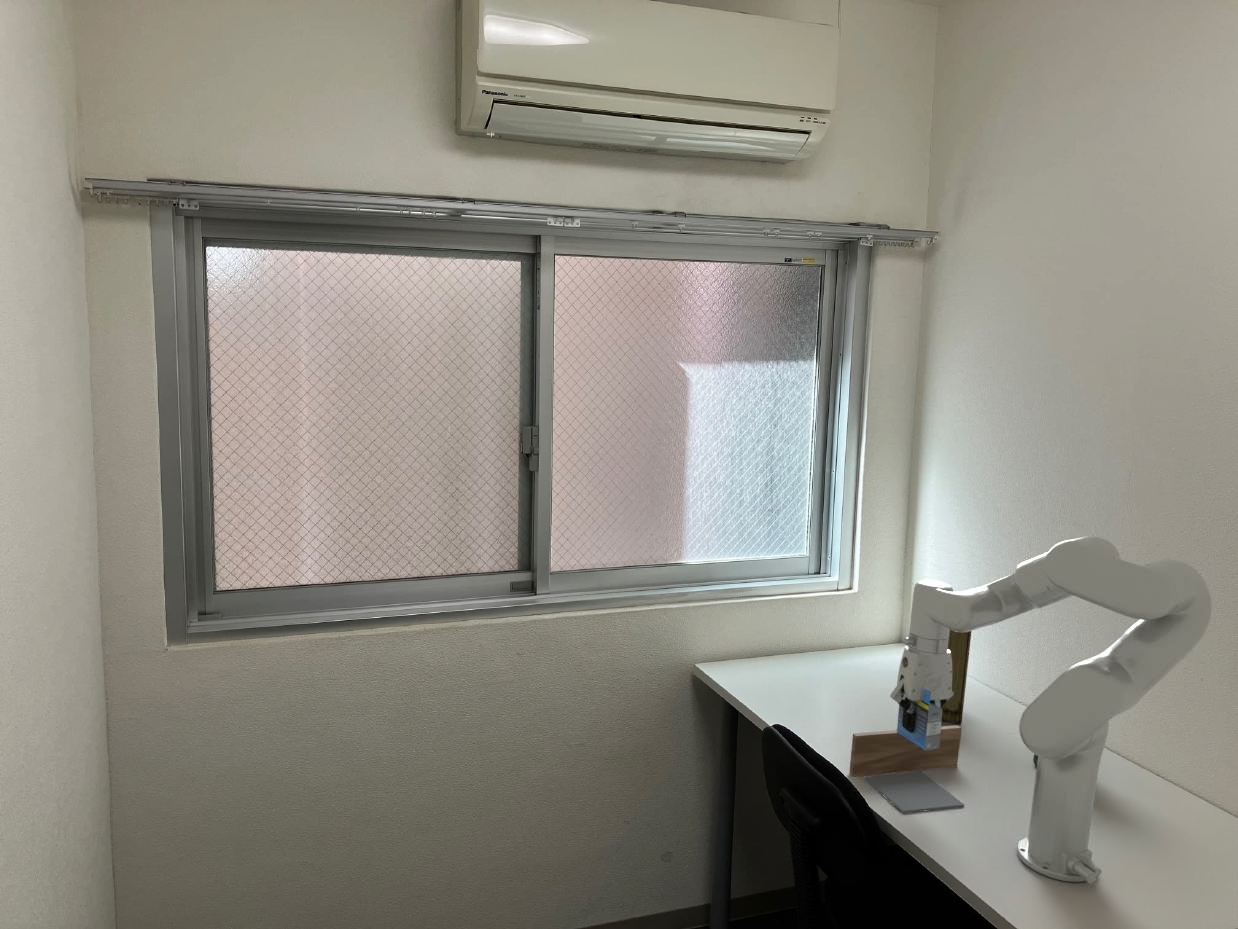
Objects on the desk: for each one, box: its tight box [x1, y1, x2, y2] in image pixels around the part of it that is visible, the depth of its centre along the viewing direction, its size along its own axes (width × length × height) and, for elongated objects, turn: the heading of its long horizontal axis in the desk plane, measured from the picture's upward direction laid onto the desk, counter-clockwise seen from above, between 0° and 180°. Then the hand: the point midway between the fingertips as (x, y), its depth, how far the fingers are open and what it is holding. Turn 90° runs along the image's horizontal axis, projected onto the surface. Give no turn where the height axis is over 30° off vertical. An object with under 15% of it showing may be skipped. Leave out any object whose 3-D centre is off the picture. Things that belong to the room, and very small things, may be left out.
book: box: [941, 630, 972, 726], centre depth 220 cm, size 16×6×25 cm, turn 168°
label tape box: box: [896, 689, 942, 750], centre depth 177 cm, size 9×4×12 cm, turn 22°
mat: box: [863, 770, 965, 814], centre depth 179 cm, size 14×14×1 cm
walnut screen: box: [848, 724, 962, 777], centre depth 188 cm, size 1×26×9 cm, turn 106°
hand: (918, 728), depth 177 cm, fingers closed on label tape box, 4 cm apart
